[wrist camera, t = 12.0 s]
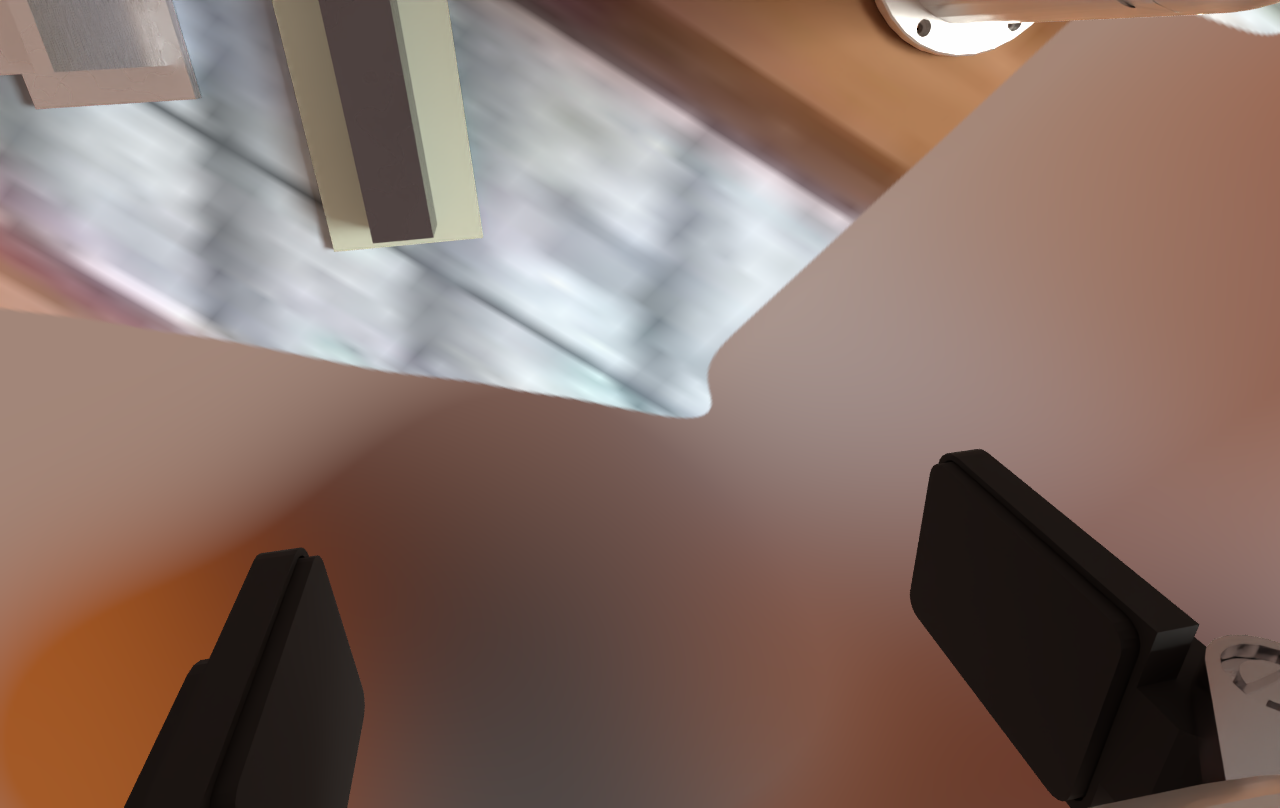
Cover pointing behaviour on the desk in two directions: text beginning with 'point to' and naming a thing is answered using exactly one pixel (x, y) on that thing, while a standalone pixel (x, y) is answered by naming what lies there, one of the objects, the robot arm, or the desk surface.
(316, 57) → the mat
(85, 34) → the rack
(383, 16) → the rail
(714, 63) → the desk surface
